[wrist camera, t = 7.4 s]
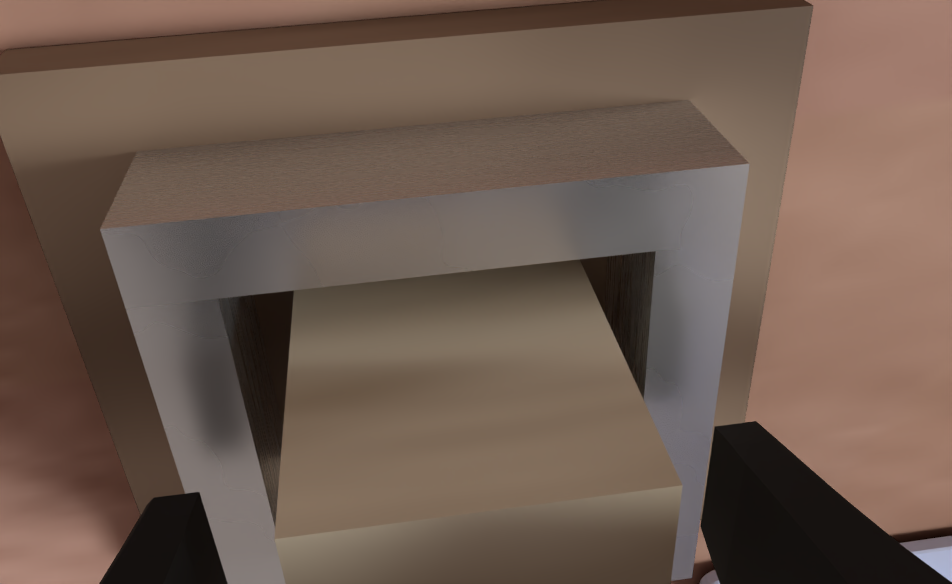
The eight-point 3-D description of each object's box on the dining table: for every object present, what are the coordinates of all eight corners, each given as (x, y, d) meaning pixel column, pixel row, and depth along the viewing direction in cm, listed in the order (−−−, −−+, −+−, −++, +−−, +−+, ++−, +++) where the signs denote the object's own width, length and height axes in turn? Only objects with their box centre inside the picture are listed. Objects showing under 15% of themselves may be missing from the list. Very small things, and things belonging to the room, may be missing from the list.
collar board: (709, 476, 20) (775, 608, 17) (177, 547, 19) (148, 700, 16) (779, -15, 14) (898, 55, 11) (6, 49, 13) (-94, 146, 10)
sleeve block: (560, 423, 17) (654, 714, 12) (333, 451, 16) (330, 765, 11) (563, 224, 14) (683, 485, 9) (296, 251, 14) (274, 538, 9)
